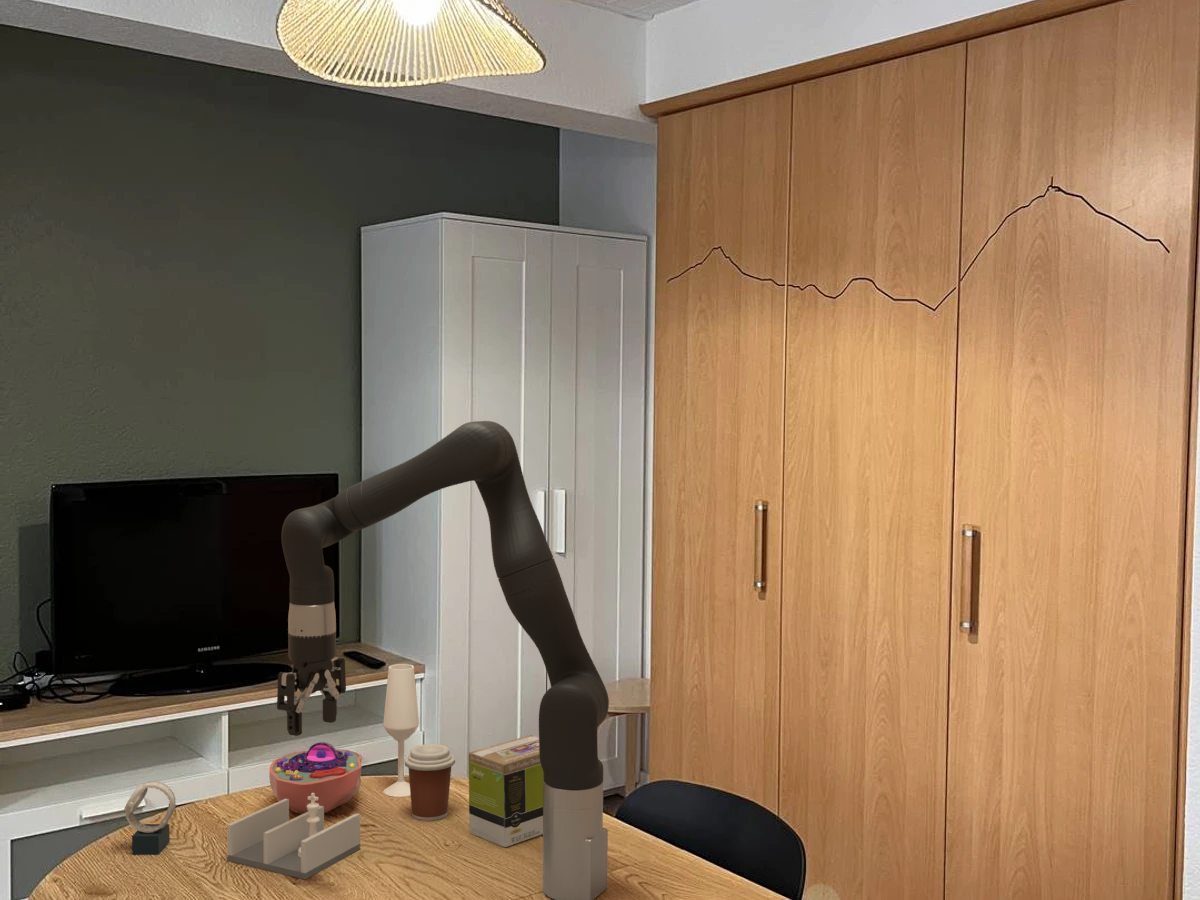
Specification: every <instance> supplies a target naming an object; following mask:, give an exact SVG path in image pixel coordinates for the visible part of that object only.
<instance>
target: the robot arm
mask: <svg viewBox="0 0 1200 900" xmlns="http://www.w3.org/2000/svg"><path fill="white" fill-rule="evenodd" d="M524 478H525V477H524V473H523V470H522V467H521V462H520V457H519V454H518V450H517V447H516V444H515V440H514V439H513V436H512V435H511V433H510V432H509V431H508V430H507V428H505V427H504V426H503V425H502V424H499V423H498V422H495V421H490V420H479V421H477V420H476V421H468V422H466V423H463V424H462V425H460V426H458V427H457V428H456V429H454V430H452V431H451V432H450V433H449V434H447V435H446V436H445V437H443V438H442V439H440V440H439V441H437V442H436V443H434V444H433V445H431V446H429V448H427V449H426V450H424V451H422V452H421V453H419V454H418V455H417V454H416V456H413V457H412V458H410V459H408V460H406V461H403V462H402V463H400V464H398V465H396V466H393V467H391V468H388V469H387V470H384V471H381V472H380V473H377V474H374V475H372V476H370V477H367V478H366V479H363V480H361V481H359V482H357V483H355V484H353V485H351V486H349V487H346V488H345V489H343V490H341V491H340V492H339V493H338V494H337V495H336V496H335V497H332V498H331V499H328V500H325V501H322V502H321V503H318V504H315V505H312V506H309V507H303V508H298V509H295V510H293V511H292V512H290V513H289V514H288V515H287V516H286V518H285V519H284V522H283V524H282V527H281V528H282V529H281V535H280V536H281V537H280V538H281V546H282V551H283V555H284V556H283V557H284V560H285V563H286V564H285V565H286V568H287V571H288V574H289V609H288V616H287V617H288V618H287V622H288V626H287V627H288V628H287V631H288V632H287V633H288V634H287V636H288V637H287V638H288V640H287V642H288V648H287V649H288V658H289V660H290V661H291V662H292V664H293V665H292V669H291V672H283V671H280V672H279V673H278V674H277V693H276V694H277V695H276V709H277V710H278V711H283V712H284V711H285V712H286V721H287V722H286V723H287V724H286V726H287V727H286V729H287V732H288V735H290V736H295V737H298V736H300V735H302V733H303V712H302V709H303V707H304V705H305V703H306V702H307V701H308V700H309V699H310V697H311V695H312V694H315V693H316V692H320V693H321V695H322V697H323V699H322V721H323V722H325V723H331V724H333V723H334V722H336V721H337V715H338V712H337V711H338V709H337V708H338V705H337V704H338V702H337V700H338V699H339V698H340V695H341V694H345V693H346V690H347V682H346V681H347V678H346V660H345V658H343V657H339V656H336V655H337V622H336V621H337V619H336V618H337V617H336V608H335V577H334V571H333V569H332V568H331V567H330V566H329V565H327V564H326V565H325V559H324V553H323V552H324V551H323V549H325V548H328V547H330V546H332V545H334V544H336V543H338V542H340V541H343V539H345V538H348V537H349V536H351V535H352V534H354V533H356V532H357V531H360V530H363V529H366V528H368V527H371V526H372V525H375V524H377V523H380V522H381V521H382V522H383V521H384V520H386V519H389V518H390V517H392V516H394V515H396V514H397V513H400V512H401V511H402V510H404V509H406V508H407V507H409V506H411V505H412V504H414V503H416V502H417V501H419V500H420V499H423V498H424V497H426V496H429V495H430V494H432V493H435V492H437V491H440V490H443V489H446V488H449V487H452V486H457V485H461V484H464V483H468V482H472V481H473V482H475V485H476V487H477V490H478V491H479V494H480V496H481V499H482V501H483V504H484V505H485V508H486V512H487V513H486V514H487V516H488V522H489V528H490V529H489V530H490V544H491V554H492V555H491V556H492V561H493V566H494V570H495V574H496V577H497V579H498V582H499V586H500V587H501V590H502V593H503V596H504V599H505V602H506V604H507V605H508V608H509V610H510V612H511V613H512V615H513V616H514V617H515V620H516V621H517V622H518V624H519V625H520V627H522V629H523V630H524V632H526V634H527V636H529V638H530V639H531V640H532V642H533V643H534V645H535V647H536V648H537V650H538V652H539V654H540V656H541V659H542V661H543V664H544V667H545V670H546V672H547V677H548V680H549V683H550V687H549V689H547V690H546V691H545V692H544V694H543V696H542V698H541V701H540V702H539V703H540V704H539V711H538V738H539V754H540V763H541V766H542V769H543V773H544V781H543V834H542V877H541V879H542V892H543V894H544V895H546V896H547V897H548V898H551V899H553V900H595V899H596V898H597V897H598V896H600V895H601V894H602V893H603V892H605V890H607V889H608V849H609V847H608V845H609V844H608V843H609V839H608V838H609V836H608V835H609V829H608V828H606V827H603V826H604V825H603V823H604V821H603V820H604V819H603V818H604V809H603V808H604V765H603V762H602V761H601V760H600V759H599V754H598V753H599V752H598V728H599V726H601V724H603V722H604V720H606V718H607V715H608V713H609V709H610V708H609V707H610V704H609V703H610V701H609V694H608V691H607V689H606V686H605V684H604V682H603V680H602V677H601V675H600V674H599V672H598V670H597V668H596V665H595V663H594V661H593V659H592V657H591V656H590V655H591V654H590V653H589V652H588V649H587V647H586V645H585V642H584V641H583V638H582V635H581V632H580V629H579V627H578V624H577V621H576V618H575V614H574V612H573V609H572V606H571V602H570V601H569V598H568V595H567V592H566V589H565V586H564V582H563V580H562V579H563V578H562V576H561V574H560V571H559V569H558V566H557V563H556V561H555V558H554V555H553V553H552V551H551V548H550V546H549V543H548V541H547V539H546V536H545V533H544V531H543V528H542V526H541V523H540V520H539V518H538V516H537V513H536V510H535V508H534V506H533V504H532V501H531V499H530V495H529V493H528V488H527V486H526V482H525V479H524ZM337 680H338V684H337ZM298 691H299V692H298ZM285 699H286V702H285ZM296 700H297V701H296ZM295 701H296V703H295Z"/></svg>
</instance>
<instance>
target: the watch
mask: <svg viewBox="0 0 1200 900" xmlns="http://www.w3.org/2000/svg"><path fill="white" fill-rule="evenodd" d="M148 789H156V790H159V791H160V792H162V793H164V795H165V796H166V797H167V799H168V802H169V803H168V807H167V810H166V812H165V815H164V817H163V819H162V820H161V821H160V823H142V822H141V821H139V820H138V819H137V817H136V816H135V811H136V810H137V809H138V807H139V806H140V804H141V803H142V802H143V800H144V798H145V797H146V794H147V793H148ZM176 807H177V804H176V795H175V793H174V791H173V789H171V788H170V787H169V786H168V785H167V784H165V783H164V782H160V781H152V780H151V781H148V782H146V783H144V784H143V783H140V784H139V785H138V786H137V787H136V788H135V790H134V791H133V793H132V794H131V796H130V797H129V799H128V800H127V802H126V804H125V806H124V809H123V810H124V811H125V818H126V820H127V822H128V824H129V825H130V826H131V827H132V828H133V829H135V830H136V832H134V834H132V836H131V851H132V852H131V854H132V856H134V855H135V856H140V855H141V856H143V855H144V856H145V855H146V856H152V855H153V856H159V855H160V854H161V853H162V852H163V851H164V849H165V848H166V847H167V846H168V845H169V844H170V842H171V841H170V836H171V835H170V824H169V823H168V822H169V821H170V819H171V818H172V816H173V814H174V812H175V809H176Z"/></svg>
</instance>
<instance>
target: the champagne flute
mask: <svg viewBox="0 0 1200 900" xmlns="http://www.w3.org/2000/svg"><path fill="white" fill-rule="evenodd" d="M386 681H387V682H386V693H385V704H384V712H383V713H384V714H383V724H382V725H383V727H384V728H383V729H384V730H385V732H386V733H387V734H388V735H389V736H391V737H392V738H393V739H394V740H395V741H397V781H396V782H393V784H391V785H389V786H388V787H386V788H385V789H384V790H383V791H382V792H383V794H384V795H386V796H389V797H395V798H399V797H401V798H403V797H404V798H405V797H409V796H410V797H411V794H410V782H407V781H406V780H405V741H406V740H408V739H409V738H410V737H411V736H412V735H413V734H414V733H415V732H416V731H417V729H418V727H419V724H420V722H419V721H420V720H419V708H418V707H419V706H418V699H417V697H418V696H417V687H416V677H415V666H414V665H413V664H409V663H396V664H392V665H389V666H388V670H387V680H386Z"/></svg>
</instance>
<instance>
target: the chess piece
mask: <svg viewBox="0 0 1200 900" xmlns="http://www.w3.org/2000/svg"><path fill="white" fill-rule="evenodd" d="M308 800H311V803H309V804H308V805H307V809H308V812H309V815H310V817H308V818H307V820H306V821H307V822H309V823H310V829H309V837H310V836H312V835H314V834H316V833H317V828H316V822H318V821H319V820H320V819H319V817H317V816H316V815H317V811H318V809H319V804H318V803H315V800H318V797H315V793H311V796H308ZM298 856H299V857H301V847H300V848H299V849H298Z"/></svg>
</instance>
